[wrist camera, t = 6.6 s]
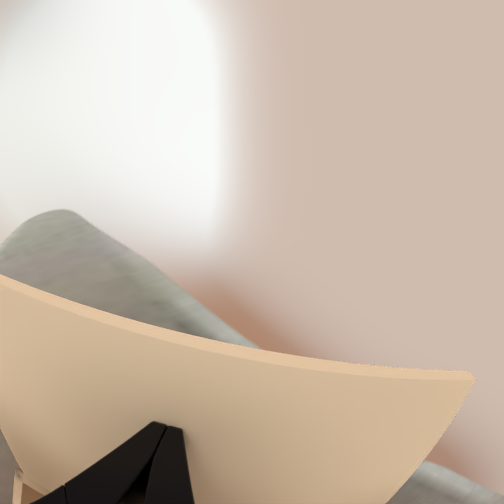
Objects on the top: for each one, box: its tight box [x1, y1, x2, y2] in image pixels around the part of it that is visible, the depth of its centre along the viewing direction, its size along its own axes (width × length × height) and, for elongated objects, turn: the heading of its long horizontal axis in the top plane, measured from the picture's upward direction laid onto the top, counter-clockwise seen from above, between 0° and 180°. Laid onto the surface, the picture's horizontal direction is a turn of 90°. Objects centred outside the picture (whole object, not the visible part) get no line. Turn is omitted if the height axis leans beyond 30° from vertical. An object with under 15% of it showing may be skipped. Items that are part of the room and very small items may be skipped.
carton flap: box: [0, 274, 476, 504], centre depth 8 cm, size 12×16×1 cm
